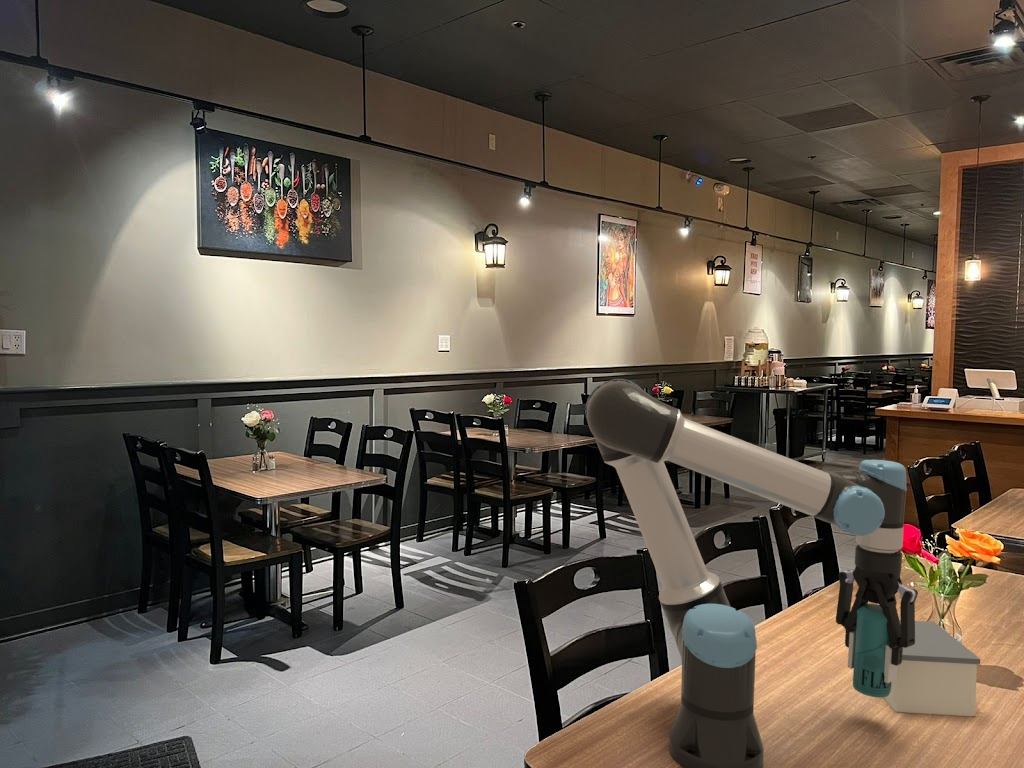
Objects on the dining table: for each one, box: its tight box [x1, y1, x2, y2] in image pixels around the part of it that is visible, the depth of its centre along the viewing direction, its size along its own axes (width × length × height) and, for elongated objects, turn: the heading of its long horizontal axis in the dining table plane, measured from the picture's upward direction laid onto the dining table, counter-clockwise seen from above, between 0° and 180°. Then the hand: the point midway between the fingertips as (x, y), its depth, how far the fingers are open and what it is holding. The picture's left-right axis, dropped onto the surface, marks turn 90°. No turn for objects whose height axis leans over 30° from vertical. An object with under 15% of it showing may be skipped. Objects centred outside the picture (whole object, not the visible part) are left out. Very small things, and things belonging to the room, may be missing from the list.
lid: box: [899, 619, 982, 665], centre depth 147 cm, size 14×19×1 cm
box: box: [883, 660, 978, 717], centre depth 147 cm, size 14×18×10 cm
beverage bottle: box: [852, 589, 892, 698], centre depth 134 cm, size 6×7×20 cm
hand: (871, 673), depth 134 cm, fingers closed on beverage bottle, 6 cm apart
